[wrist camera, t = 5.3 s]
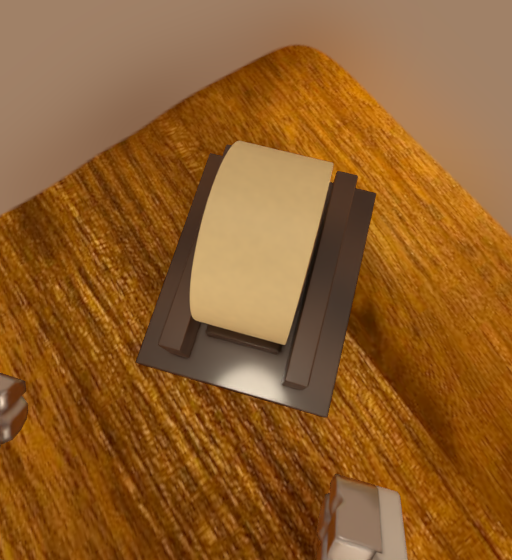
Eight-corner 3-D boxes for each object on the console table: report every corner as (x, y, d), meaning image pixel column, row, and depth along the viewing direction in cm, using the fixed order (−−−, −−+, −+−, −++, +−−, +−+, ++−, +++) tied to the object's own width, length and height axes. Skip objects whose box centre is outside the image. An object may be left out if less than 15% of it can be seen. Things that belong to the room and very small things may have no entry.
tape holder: (324, 417, 24) (337, 418, 20) (139, 364, 25) (118, 355, 21) (372, 200, 28) (390, 166, 24) (211, 161, 29) (204, 123, 25)
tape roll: (282, 356, 24) (296, 326, 15) (202, 334, 24) (172, 292, 16) (318, 215, 27) (347, 121, 18) (245, 197, 27) (240, 96, 18)
